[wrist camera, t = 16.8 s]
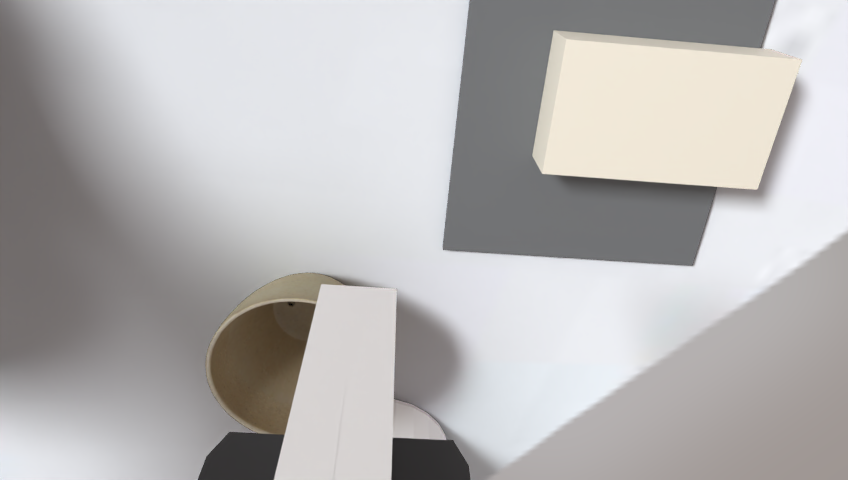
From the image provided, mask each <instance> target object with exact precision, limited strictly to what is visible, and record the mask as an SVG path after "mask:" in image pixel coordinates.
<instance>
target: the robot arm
mask: <svg viewBox="0 0 848 480" xmlns="http://www.w3.org/2000/svg"><path fill="white" fill-rule="evenodd" d="M396 301H397V289H394V288H377V287H360V286H343V285H327V284H321V287H320V291H319V295H318V299H317V304H316V308H315V312H314V316H313V320H312V324H311V328H310V332H309V337H308V341H307V345H306V349H305V353H304V357H303V361H302V366H301V370H300V374H299V378H298V382H297V386H296V390H295V394H294V399H293V403H292V407H291V411H290V415H289V419H288V423H287V428H286V432H285V435H282V434H260V433H238V432H229V433H228V434H227V435H226V436H225V438H224V439H223V440H222V441H221V442H220V443H219V444H218V445H217V446H216V447H215V448H214V449H213V450H212V451H211V452H210V453H209V455H208V456H207V457H206V460H205V462H204V465H203V467H202V470H201V473H200V475H199V478H198V480H470V473H469V466H468V464H467V462H466V461H465V459H464V457H463V456H462V454H461V453H460V451H459V449H458V448H457V446H456V444H455V443H454V441H453V440H435V439H413V438H393V405H394V370H395V336H396Z"/></svg>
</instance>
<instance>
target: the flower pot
mask: <svg viewBox="0 0 848 480" xmlns="http://www.w3.org/2000/svg"><path fill="white" fill-rule="evenodd" d="M321 284H327V285H343V284H342V283H340V282H339V281H337V280H335V279H333V278H331V277H329V276H326V275H322V274H317V273H298V274H293V275H288V276H285V277H282V278H279V279H277V280H274V281H272V282H270V283H268V284H266V285H265V286H263V287H261V288H260V289H258V290H257V291H255V292H254V293H252V294H251V295H250V296H248V297H247V298H246V299H245V300H244V301H243V302H241V303H240V304H239V305H238V306H237V307H236V308H235V309H234V310H233V311H232V312H231V313H230V314H229V316H228V317H227V318H226V319H225V320H224V322H223V323H222V324H221V326H220V327H219V329H218V330H217V332H216V333H215V335H214V336H213V338H212V340H211V342H210V344H209V347H208V350H207V354H206V364H205V367H206V376H207V381H208V383H209V387H210V389H211V391H212V393H213V395H214V397H215V398H216V400H217V401H218V403H219V404H220V406H221V407H222V408H223V409H224V410H225V411H226V412H227V413H228V414H229V415H230V416H231V417H232V418H233V419H235V420H236V421H237V422H239V423H240V424H242V425H243V426H245V427H246V428H248V429H250V430H252V431H254V432H257V433H260V434H282V435H285V432H286V428H287V423H288V419H289V415H290V411H291V407H292V403H293V399H294V394H295V390H296V386H297V382H298V378H299V374H300V370H301V366H302V361H303V357H304V353H305V349H306V345H307V341H308V337H309V332H310V328H311V324H312V320H313V316H314V312H315V308H316V304H317V299H318V295H319V291H320V287H321ZM343 286H345V285H343ZM289 303H291V304H293V306H292V305H289Z"/></svg>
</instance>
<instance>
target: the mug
mask: <svg viewBox="0 0 848 480" xmlns="http://www.w3.org/2000/svg"><path fill="white" fill-rule="evenodd" d="M393 438H413V439H435V440H446V436H445V434H444V432H443V430H442V429H441V427H440V425H439V424H438V423H437V422H436V421H435V420H434V419H433V418H432V417H431V416H430V415H429V414H428V413H427V412H425V411H423V410H421V409H420V408H418V407H416V406H414V405H412V404H409V403H406V402H402V401H399V400H396V399H394V405H393Z"/></svg>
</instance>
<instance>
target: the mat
mask: <svg viewBox="0 0 848 480" xmlns="http://www.w3.org/2000/svg"><path fill="white" fill-rule="evenodd" d="M774 3H775V0H470V2H469V11H468V20H467V29H466V39H465V48H464V57H463V66H462V75H461V84H460V94H459V103H458V112H457V121H456V130H455V139H454V149H453V158H452V167H451V176H450V185H449V194H448V203H447V213H446V222H445V231H444V240H443V250H456V251H471V252H487V253H503V254H518V255H534V256H550V257H565V258H581V259H597V260H613V261H628V262H644V263H660V264H675V265H691V266H692V265H693V262H694V259H695V256H696V252H697V249H698V246H699V243H700V240H701V236H702V233H703V230H704V227H705V224H706V220H707V217H708V214H709V211H710V208H711V204H712V201H713V198H714V195H715V192H716V188H717V187H713V186H700V185H686V184H673V183H659V182H646V181H632V180H618V179H605V178H591V177H578V176H564V175H551V174H542V173H541V171H540V169H539V167H538V165H537V164H536V162H535V160H534V158H533V156H532V154H533V148H534V142H535V136H536V131H537V125H538V119H539V113H540V107H541V101H542V95H543V90H544V84H545V78H546V72H547V66H548V60H549V54H550V49H551V43H552V37H553V31H554V30H556V31H568V32H579V33H591V34H602V35H613V36H625V37H636V38H648V39H659V40H670V41H682V42H693V43H705V44H716V45H727V46H739V47H750V48H761V45H762V41H763V38H764V35H765V32H766V29H767V25H768V22H769V19H770V16H771V13H772V9H773V6H774Z"/></svg>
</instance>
